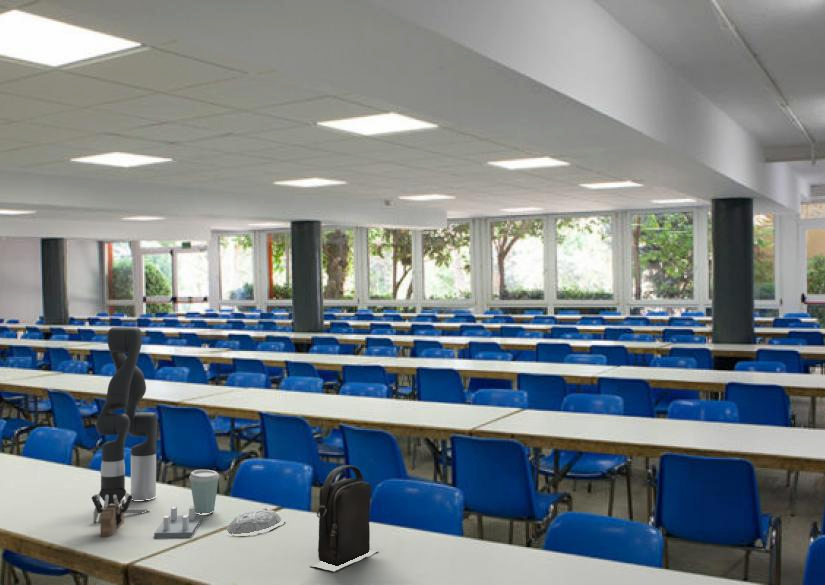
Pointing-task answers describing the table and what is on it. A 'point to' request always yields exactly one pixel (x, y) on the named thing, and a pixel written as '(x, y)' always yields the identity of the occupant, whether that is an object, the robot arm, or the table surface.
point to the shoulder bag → (343, 518)
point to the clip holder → (178, 524)
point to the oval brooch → (254, 521)
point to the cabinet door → (110, 520)
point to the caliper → (124, 512)
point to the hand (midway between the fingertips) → (112, 524)
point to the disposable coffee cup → (204, 490)
